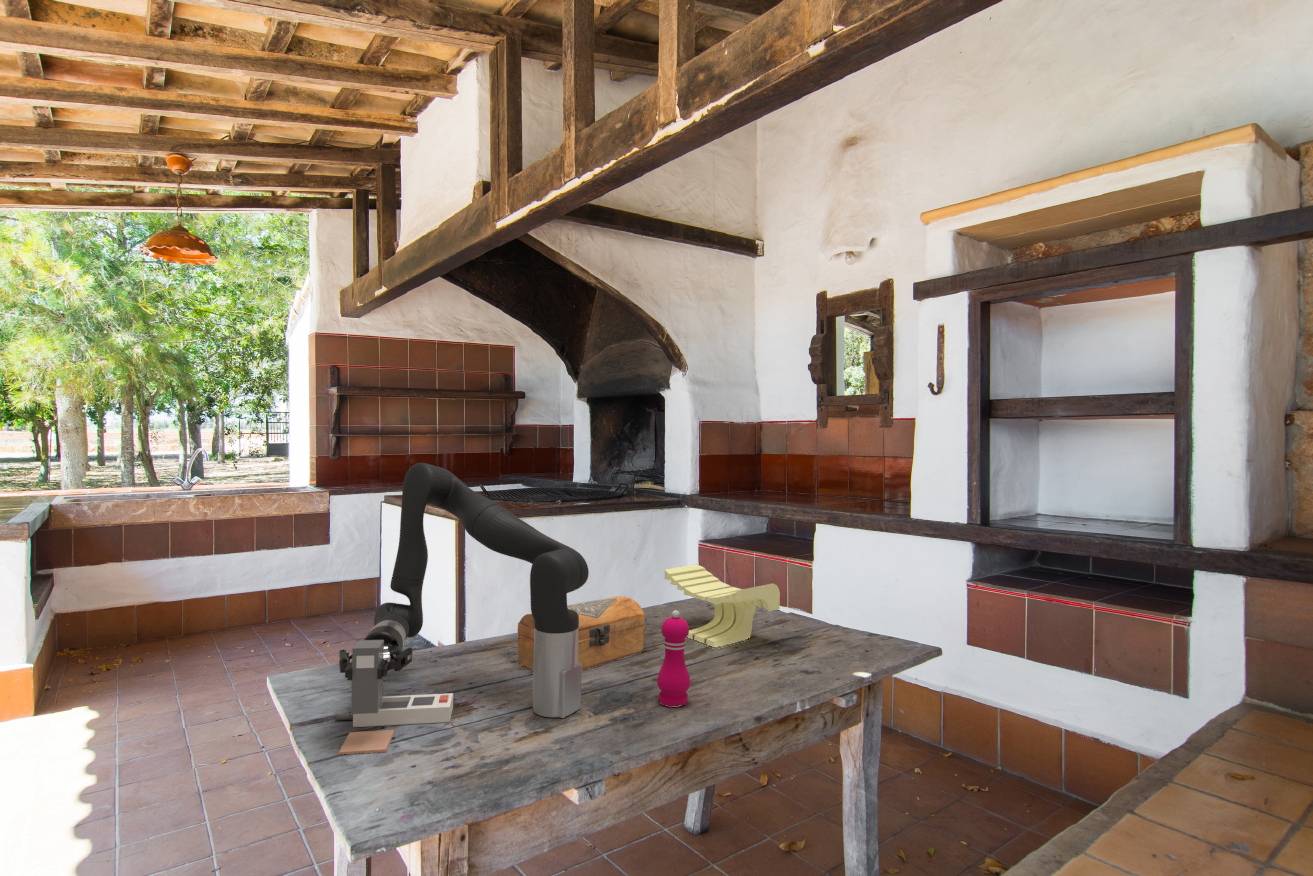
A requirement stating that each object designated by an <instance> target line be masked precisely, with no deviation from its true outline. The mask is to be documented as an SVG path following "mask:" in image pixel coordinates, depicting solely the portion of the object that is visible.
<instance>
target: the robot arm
mask: <svg viewBox="0 0 1313 876" xmlns="http://www.w3.org/2000/svg"><path fill="white" fill-rule="evenodd" d="M401 493H402V495H401V507H400V508H401V510H400V521H399V522H400V523H399V525H400V526H399V538H398V546H397V547H398V548H397V551H396V558H395V562H394V567H393V571H392V575H391V576H392V577H391V580H390V590H391V591H393V592H395V593H398V594H401V595H403V596H405V597H406V598H407V599H408V601H409V604H403V603H396V602H384V603H382V604H380V605H379V606H378V607H377V609H376V611H375V614H374V618H373V627H372V628H371V629H370V630H369V632H368V633H367V634H366V635H365V637H364V638H363V640H384V658H383V661H382V662H381V663H380V665H379V667H378V669H377V679H382V677H383V678H384V677H386V676H388V673H390V672H391V670H393V671H394V672H400V671H402V670H403V669H404V668H405V667H407V666H408V665H409V664H411V663H412V662H413V648H412V647H408V648H405V649H404V646H405V644H406V640H407V638H413V637H415V636H417V635H418V634H419V633H420V631H421V630H422V629H423V623H424V612H423V599H422V598H423V596H422V595H423V586H424V580H425V576H426V571H427V566H428V560H429V552H428V551H429V550H428V544H427V540H426V536H425V529H424V528H425V527H424V516H425V510H426V507H427V505H429V506H434V507H437V508H440V509H442V510H443V511H447V513H450V514H451V515H453V516H454V517H455V518H457V519H458V520H459V521H460V523H461V525H462V526H463V529H464V530H465V531H466V533H468V535H469V536H470V537H471V538H472V539H474V540H476V541H477V542H478V543H479V544H481V545H482V546H484V547H485V548H488V550H491V551H493V552H495V553H498V554H500V555H504V556H508V557H510V558H515V559H519V560H522V561H524V562H527V563H530V564H531V567H530V568H531V569H530V573H529V588H530V589H529V591H530V593H529V595H530V612H531V614H532V616H533V618H534V664H533V670H532V671H533V673H532V677H533V678H532V712H533V713H535V714H536V715H538V716H540V717H545V718H561V719H564V718H567V717H568V716H570V715H572V714H573V713H575V712H577V711H579V710H580V709H581V708H582V678H583V677H582V672H583V671H582V664H581V663H578V634H579V616H578V613H577V612H576V611H574V610H571V609H568V607H567V606H568V593H572V592H574V591H577V590H579V589H580V588H581V587H583V586H584V585H585V584H586V583H587V581H588V578H589V572H590V571H589V567H588V563H587V561H586V559H585V558H584V557H583V555H582V554H581V553H580V552H578V551H577V550H576V549H574V548H572V547H570V546H568V545H566V544H564V543H562V542H560V541H558V540H555V539H553V538H552V537H550V536H549V535H548V536H547V534H544V533H542V532H541V531H539V530H538V529H536V528H535V527H533V525H530V524H529V523H528V522H525V521H524V520H523V519H521V518H519V517H518V516H516V515H515V514H513V513H512V512H511V511H509V510H508V509H506V508H504V506H501V505H500V504H498V503H497V502H495V501H493V500H491V499H490V498H487V497H486V496H484V495H482V494H480V493H478V492H476V491H474V490H473V489H471V488H470V487H469V486H468V485H466V484H465V483H464V482H463V481H462V480H461V479H459V478H458V477H457V476H456V475H455V474H453V472H451V471H449V470H448V469H446V468H443V467H440V466H437V465H433V464H430V463H425V462H418V463H415V464H413V465H412V466H411V467H409V468H408V470H407V471H406V474H405V476H404V479H403V484H402V492H401ZM338 653H339V654H338V667H339V673H341V674H344V678H345V679H346V680H347V681H352V652H349V651H347V650H346V649H340V650H339V652H338ZM566 716H567V717H566Z"/></svg>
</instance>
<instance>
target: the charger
mask: <svg viewBox="0 0 1313 876" xmlns="http://www.w3.org/2000/svg"><path fill="white" fill-rule="evenodd" d="M351 651H352V652H351V653H352V680H351V694H350V695H351V696H350V698H351V699H350V701H351V702H350V703H351V704H350V713H351V714H368V713H378V711H379V709H380V707H381V705H382V700H383V697H384V695H383V694H384V693H383V691H384V689H383V688H384V677H382V679H377V669H378V667H379V665H380V663H381V662H382V661H383V658H384V640H364V639H363V640H362V639H361V640H360V639H359V640H358V641H357V642H356V643H355V645H354V646H353V647H352V650H351Z"/></svg>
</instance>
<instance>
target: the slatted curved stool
mask: <svg viewBox="0 0 1313 876" xmlns="http://www.w3.org/2000/svg"><path fill="white" fill-rule="evenodd" d="M664 580H667V581H670V585H673V586H677V587H676V589H677V590H679V591H683V595H685V596H688V597H691V598H695V599H698V600H701V601H707V602H708V603H711V604H712V605H713V608H714V617H713V618H712V620H711V621H709V622H708V623H706V624H704V625H702V626H698V627H696V628H693V629H689V634H688V636H687V637H688V638H691V639H694V640H697V641H699V642H702V643H706V644H707V645H710V646H712V647H718V646H723V645H726V644H731V643H735V642H738V641H741V640H745V639H748V638H749V639H750V638H751V636H752V632H753V631H752V630H753V621H754V616H755V612H756V610H757V607H758V608H763V609H764V610H766V611H768V612H772V611H778V610H781V609H780V606H781V605H780V603H781V602H780V600H781V599H780V598H781V593H780V588H779V586H778V585H777V584H776V583H773V582H772V583H768V584H762V585H759V586H757V585H756V586H752V587H749V588H743V589H742V588H739V587H735V586H732V585H730V584H727V583H725V582H722V581H721V580H720V578H718V577H716V576H714V574H713V573H711V572H710V571H707V568H705V567H704V566H701V565H699V564H693V565H692V564H691V565H685V566H684V565H683V566H678V567H672V568H666V569H664ZM694 640H693V641H694ZM706 644H705V645H706Z"/></svg>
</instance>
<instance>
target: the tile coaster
mask: <svg viewBox="0 0 1313 876" xmlns="http://www.w3.org/2000/svg"><path fill="white" fill-rule="evenodd" d="M394 734H395V729H383V730H365V731H352V732H351V731H350V732H349V733H348V734H347V736H346V738H345V740H344V742H343V743H342V745H341V747H340V749H339V750H338V756H342V755H343V756H345V755H344V754H347V755H359V753H360V754H361V753H364V754H377V753H378V752H380V753H386V752H387V751H388V749H389V746H390V743H391V741H392V739H393V737H394ZM371 752H372V753H371ZM374 752H375V753H374ZM355 753H356V754H355ZM341 754H342V755H341Z"/></svg>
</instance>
